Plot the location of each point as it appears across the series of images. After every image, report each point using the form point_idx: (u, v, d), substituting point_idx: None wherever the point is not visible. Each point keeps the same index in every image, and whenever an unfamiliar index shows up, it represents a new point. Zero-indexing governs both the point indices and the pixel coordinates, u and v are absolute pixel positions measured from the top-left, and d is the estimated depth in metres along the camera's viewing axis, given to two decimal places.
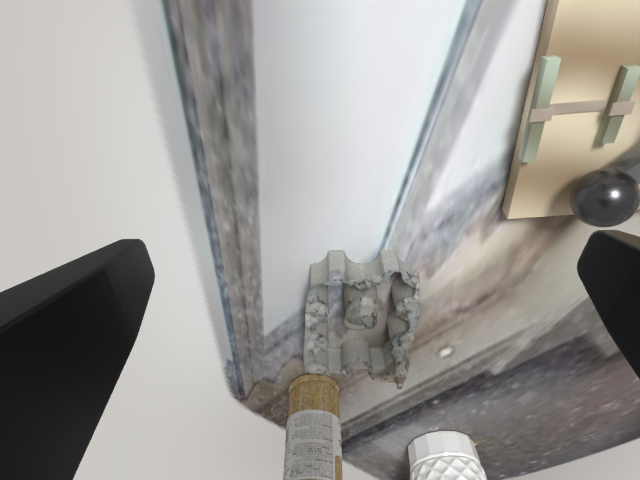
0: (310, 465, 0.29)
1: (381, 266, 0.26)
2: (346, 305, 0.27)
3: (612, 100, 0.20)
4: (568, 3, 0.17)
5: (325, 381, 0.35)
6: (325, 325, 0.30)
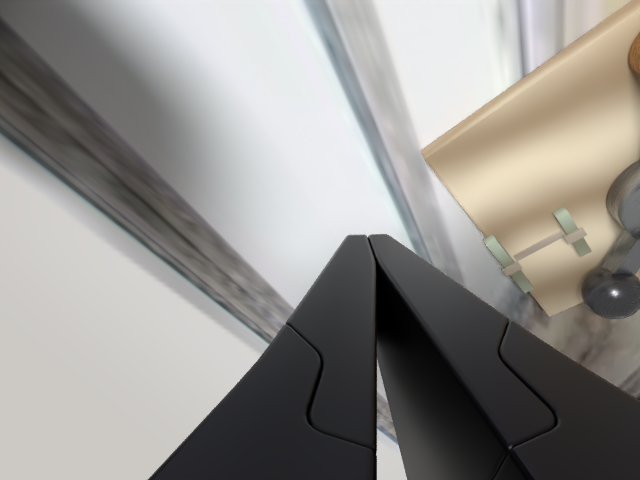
0: None
1: None
2: None
3: (565, 231, 0.23)
4: (476, 211, 0.22)
5: None
6: None
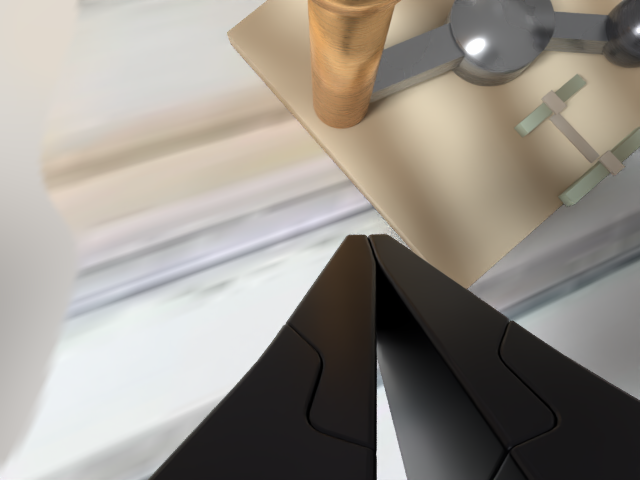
0: None
1: None
2: None
3: (549, 114, 0.19)
4: (524, 225, 0.19)
5: None
6: None
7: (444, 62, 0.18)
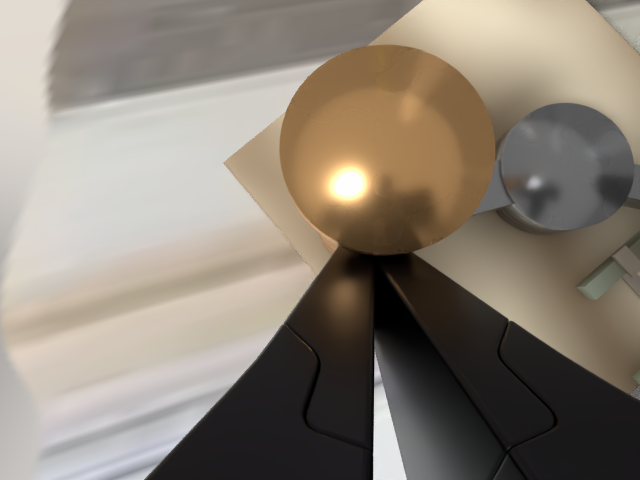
0: None
1: None
2: None
3: None
4: None
5: None
6: None
7: (486, 209, 0.14)
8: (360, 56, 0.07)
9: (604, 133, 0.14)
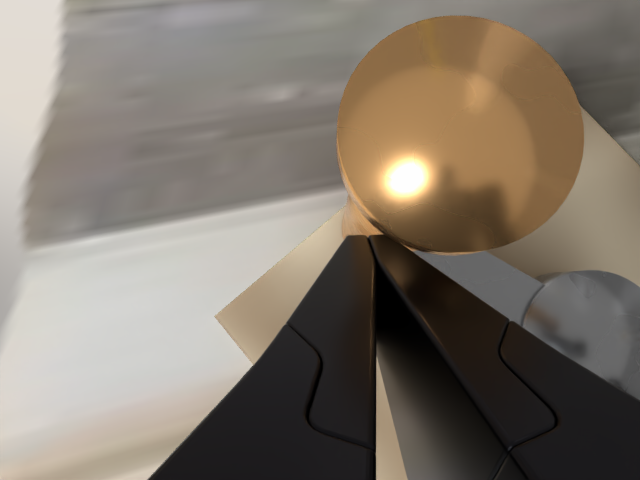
0: None
1: None
2: None
3: None
4: None
5: None
6: None
7: None
8: (511, 38, 0.06)
9: None
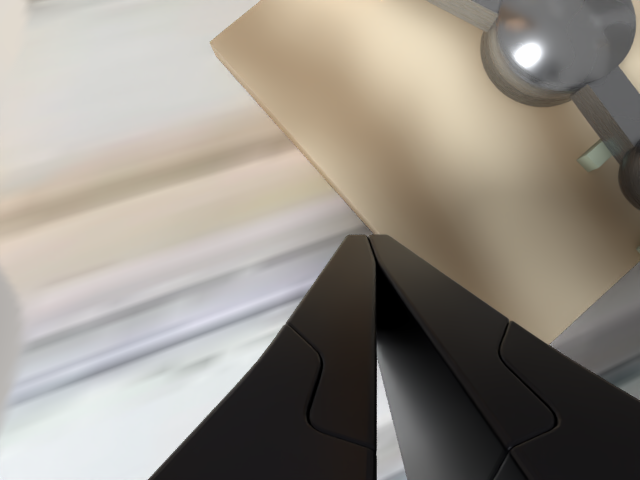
0: None
1: None
2: None
3: None
4: (594, 286, 0.15)
5: None
6: None
7: None
8: None
9: (620, 22, 0.14)
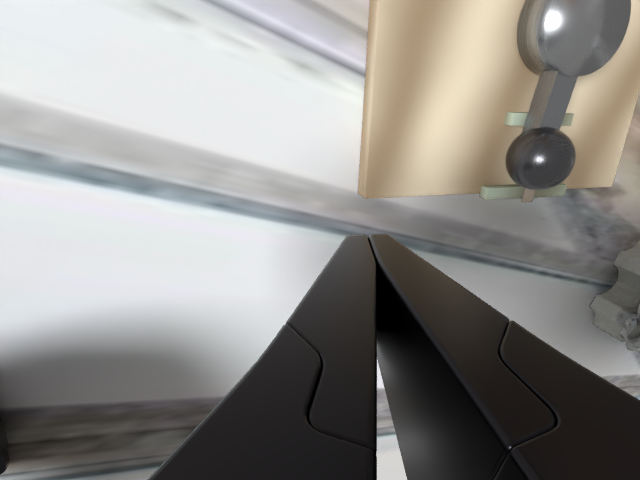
0: None
1: (633, 273, 0.27)
2: None
3: None
4: (447, 186, 0.21)
5: None
6: None
7: None
8: None
9: (603, 52, 0.19)
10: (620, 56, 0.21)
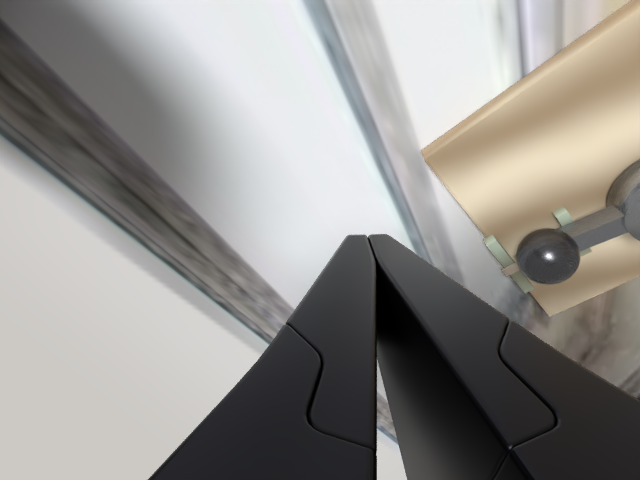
0: None
1: None
2: None
3: None
4: (476, 211, 0.22)
5: None
6: None
7: None
8: None
9: None
10: None
